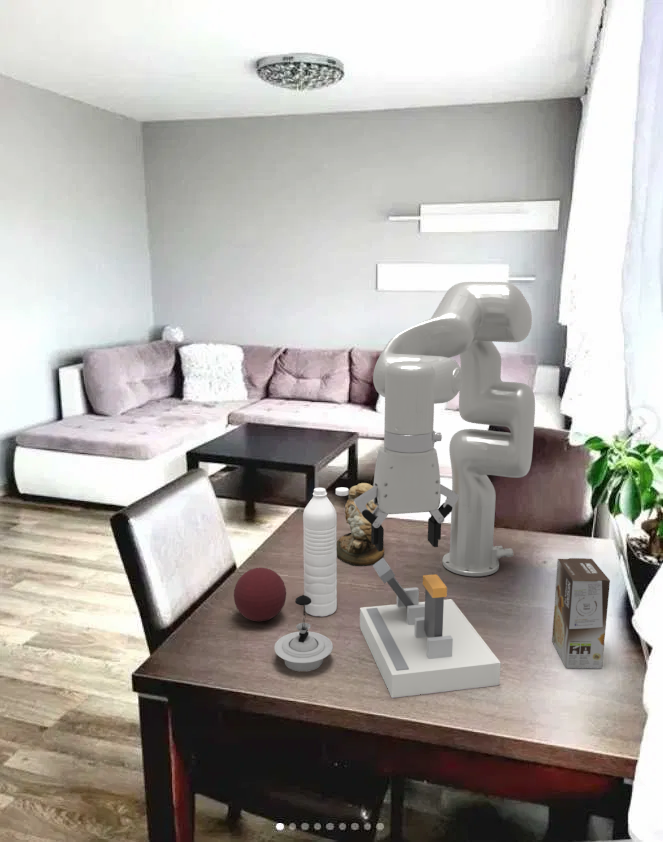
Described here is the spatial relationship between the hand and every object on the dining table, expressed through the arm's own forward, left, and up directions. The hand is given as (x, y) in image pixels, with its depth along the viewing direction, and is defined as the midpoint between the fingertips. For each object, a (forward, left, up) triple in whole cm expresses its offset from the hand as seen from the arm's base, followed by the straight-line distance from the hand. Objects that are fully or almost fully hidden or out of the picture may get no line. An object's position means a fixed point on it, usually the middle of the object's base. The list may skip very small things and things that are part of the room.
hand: (405, 545), depth 108 cm
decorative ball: (+22, -22, -22) cm, 38 cm away
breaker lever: (-5, 0, -17) cm, 18 cm away
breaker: (-5, -11, -17) cm, 21 cm away
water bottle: (+9, -23, -22) cm, 33 cm away
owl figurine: (-4, -50, -23) cm, 55 cm away
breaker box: (-5, -4, -22) cm, 23 cm away
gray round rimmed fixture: (+16, -6, -23) cm, 28 cm away
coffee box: (-31, +1, -22) cm, 38 cm away
